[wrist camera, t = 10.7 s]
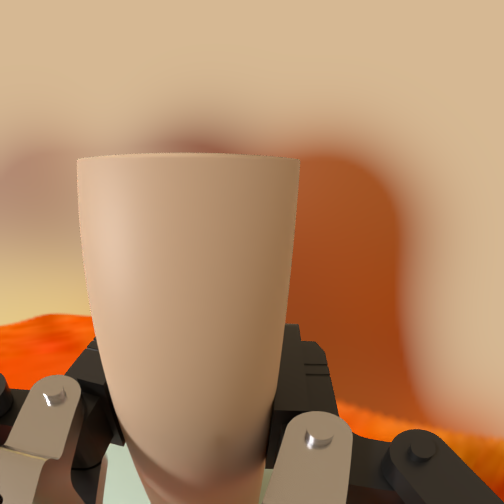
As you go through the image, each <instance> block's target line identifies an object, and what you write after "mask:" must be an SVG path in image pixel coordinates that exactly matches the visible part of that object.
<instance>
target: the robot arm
mask: <svg viewBox="0 0 504 504" xmlns="http://www.w3.org/2000/svg"><path fill="white" fill-rule="evenodd" d="M110 443H111V444H115V445H118V446H122V447H124V445H125V443H126V441H125V439H124V436H123V433H122V430H121V427H120V424H119V421H118V418H117V415H116V412H115V408H114V405H113V402H112V398H111V395H110V392H109V388H108V384H107V381H106V377H105V373H104V369H103V365H102V361H101V357H100V353H99V349H98V344H97V340H96V337H95V338H94V341H91V343H90V344H89V345H88V346H87V349H85V350H84V351H83V352H82V354H81V355H80V356H79V357H78V358H77V360H76V361H75V362H74V363H73V365H72V366H71V367H70V368H69V370H68V371H67V372H66V373H65V375H52V376H48V377H45V378H43V379H41V380H39V381H38V382H36V383H35V384H34V385H33V387H32V388H31V390H20V389H9V387H8V384H7V382H6V380H5V378H4V376H3V375H2V374H1V373H0V504H103V496H104V488H105V481H106V474H107V467H108V456H107V454H106V451H107V448H108V446H109V444H110ZM265 469H273V472H272V475H271V478H270V481H269V484H268V487H267V490H266V493H265V496H264V498H263V501H262V503H261V504H504V502H503V501H502V500H501V499H500V498H499V497H498V496H497V495H496V494H495V493H494V492H493V491H492V490H491V489H490V488H489V487H488V486H487V485H486V484H485V483H484V482H483V481H482V480H481V479H480V478H479V477H478V476H477V475H476V474H475V473H474V472H473V471H472V470H471V469H470V468H469V467H468V466H467V465H466V464H465V463H464V462H463V461H462V460H461V459H460V458H459V456H458V455H457V454H456V453H455V452H454V451H453V450H452V449H451V448H450V447H449V446H448V445H447V444H446V443H445V442H444V441H443V440H442V439H441V438H439V437H438V436H437V435H435V434H433V433H431V432H429V431H426V430H420V429H413V430H407V431H404V432H402V433H400V434H398V435H397V436H396V437H395V438H394V439H393V441H392V442H384V441H379V440H373V439H368V438H364V437H361V436H358V435H356V434H355V433H353V432H352V431H351V429H350V427H349V425H348V424H347V423H346V422H345V421H344V420H343V419H341V418H340V417H339V414H338V409H337V405H336V400H335V395H334V391H333V387H332V382H331V378H330V373H329V368H328V367H327V360H326V355H325V352H324V351H323V350H322V349H321V348H320V346H319V345H318V344H317V343H316V342H312V341H301V337H300V330H299V325H298V324H285V327H284V335H283V344H282V352H281V359H280V367H279V375H278V382H277V389H276V393H275V396H274V403H273V410H272V417H271V424H270V431H269V438H268V444H267V451H266V458H265Z"/></svg>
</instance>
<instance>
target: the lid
mask: <svg viewBox="0 0 504 504" xmlns="http://www.w3.org/2000/svg"><path fill="white" fill-rule="evenodd" d="M299 170H300V160H298V159H292V158H283V157H272V156H260V155H245V154H223V153H144V154H123V155H108V156H97V157H87V158H80V159H77V185H78V208H79V222H80V235H81V244H82V254H83V262H84V270H85V277H86V285H87V291H88V298H89V304H90V309H91V315H92V320H93V325H94V330H95V335H96V340H97V344H98V349H99V353H100V357H101V361H102V365H103V369H104V373H105V377H106V381H107V384H108V388H109V392H110V395H111V398H112V402H113V405H114V408H115V412H116V415H117V418H118V421H119V424H120V427H121V430H122V433H123V436H124V439H125V441H126V443H125V445H124V447H122V446H118V445H115V444H111V443H110V444H109V446H108V448H107V451H106V454H107V456H108V467H107V474H106V481H105V488H104V496H103V504H261V503H262V501H263V498H264V496H265V493H266V490H267V487H268V484H269V481H270V478H271V475H272V472H273V469H265V458H266V451H267V444H268V438H269V431H270V424H271V417H272V410H273V403H274V396H275V393H276V389H277V382H278V375H279V367H280V359H281V352H282V344H283V335H284V327H285V318H286V310H287V301H288V292H289V282H290V273H291V263H292V253H293V252H292V251H293V242H294V231H295V220H296V208H297V196H298V183H299Z"/></svg>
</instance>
